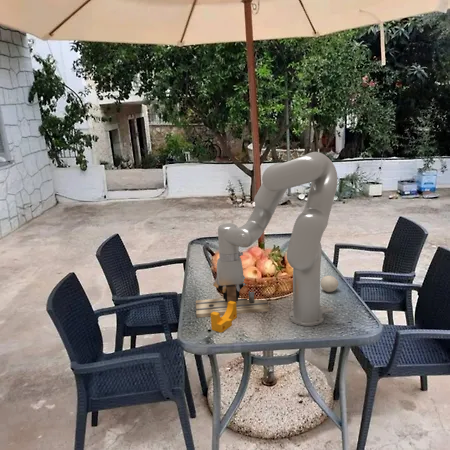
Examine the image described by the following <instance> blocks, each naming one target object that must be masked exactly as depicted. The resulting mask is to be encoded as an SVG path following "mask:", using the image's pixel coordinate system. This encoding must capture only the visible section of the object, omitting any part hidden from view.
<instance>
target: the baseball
mask: <svg viewBox="0 0 450 450" xmlns="http://www.w3.org/2000/svg"><path fill="white" fill-rule="evenodd" d="M338 287H339V281H338V280H337V278H336V277H334V276H333V275H325V276H323V277H322V278H321V279H320V288H321V289H322V290H323V291H324V292H327V293H332V292H335V291H336V290H337V288H338Z"/></svg>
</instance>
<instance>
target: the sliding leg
mask: <svg viewBox="0 0 450 450" xmlns="http://www.w3.org/2000/svg"><path fill="white" fill-rule="evenodd" d="M226 291H227V304H228V302H229V301H233V302H236V285H226ZM236 303H237V302H236Z"/></svg>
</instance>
